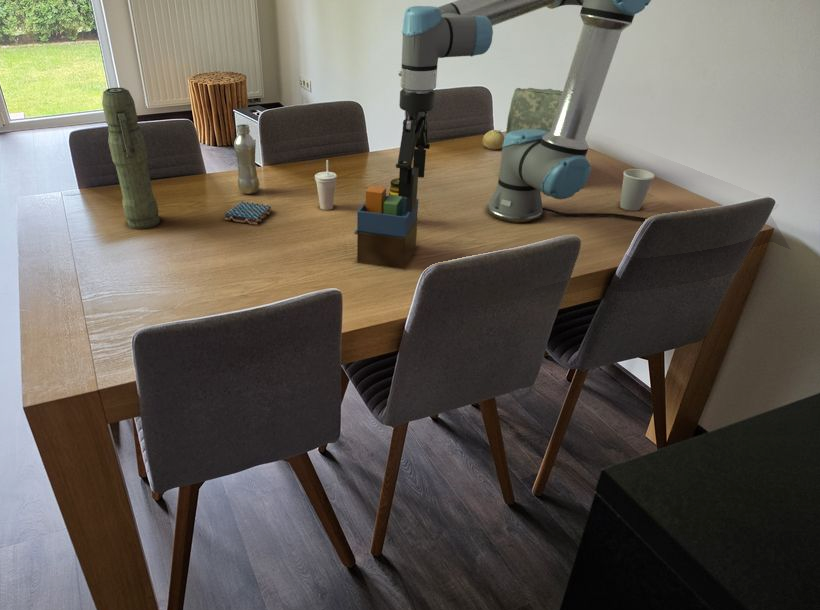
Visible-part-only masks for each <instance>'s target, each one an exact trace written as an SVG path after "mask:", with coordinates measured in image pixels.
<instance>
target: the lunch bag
mask: <svg viewBox="0 0 820 610" xmlns="http://www.w3.org/2000/svg"><path fill="white" fill-rule="evenodd" d="M513 91H514V92H513V94H512V98H511V102H510V105H509V106H510V107H509V110H508V115H507V123H506V130H505V135H506V134H507V133H509V132H511V131H514V130H522V129H537V130H544V131H547V132H550V131H551V128H552V125H553V121H554V118H555V115H556V112H557V109H558V105H559V102H560V99H561V96H562V92H563V90H560V89H552V88H542V89H541V88H534V87H528V88H521V87H516V88H515V89H514V90H513Z"/></svg>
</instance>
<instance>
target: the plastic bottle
mask: <svg viewBox="0 0 820 610" xmlns="http://www.w3.org/2000/svg"><path fill="white" fill-rule="evenodd" d="M250 133H251V130H250V125H249V124H243V123H242V124H237V125H236V134H237V135H236V137H235V139H234V143H233V149H234V153H235V156H236V163H237V173H238V174H237V175H238V178H237V187H238V190H239V191H240V192H241V194H244V195H245V194H246V195H249V194H250V195H251V194H256V192H258V191H259V189H260V180H259V177H258V172H257V166H256V149H257V147H256V145H257V144H256V140H255V139H254V138H253V136H252V135H251V134H250Z"/></svg>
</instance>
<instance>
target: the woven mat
mask: <svg viewBox="0 0 820 610" xmlns="http://www.w3.org/2000/svg"><path fill="white" fill-rule="evenodd" d="M271 207H272V206H270V205H269V204H266V205H264V204H259V203H254V202H251V203H249V202H248V201H247V202H244V201H243V200H242V201H241V202H239V203H238V204H236V205H235V206H234V207H232V208H230V210H228V211H227V212H225V216H224V220H225V221H234V222H235V223H248V224H250V225H255V226H257V225H258V222H260V223H261V222H262V219H264V218H266V217H267V216H268V215H270V214H271V212H272V211H273V210H272V208H271Z"/></svg>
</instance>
